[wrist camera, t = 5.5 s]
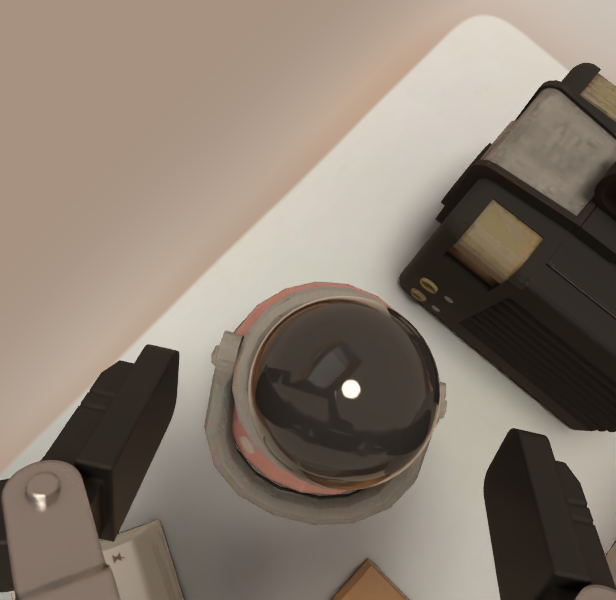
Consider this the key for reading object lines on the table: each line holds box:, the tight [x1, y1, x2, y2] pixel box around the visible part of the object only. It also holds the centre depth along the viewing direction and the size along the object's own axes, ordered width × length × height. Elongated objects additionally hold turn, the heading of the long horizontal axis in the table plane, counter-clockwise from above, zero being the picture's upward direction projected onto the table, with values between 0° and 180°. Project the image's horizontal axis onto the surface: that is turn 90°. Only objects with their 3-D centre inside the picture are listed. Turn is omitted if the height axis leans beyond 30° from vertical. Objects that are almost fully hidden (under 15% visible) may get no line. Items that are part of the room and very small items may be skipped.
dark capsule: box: [248, 296, 441, 491], centre depth 15 cm, size 4×4×8 cm
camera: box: [400, 63, 616, 432], centre depth 25 cm, size 11×14×15 cm
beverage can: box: [204, 282, 447, 525], centre depth 24 cm, size 9×8×12 cm
